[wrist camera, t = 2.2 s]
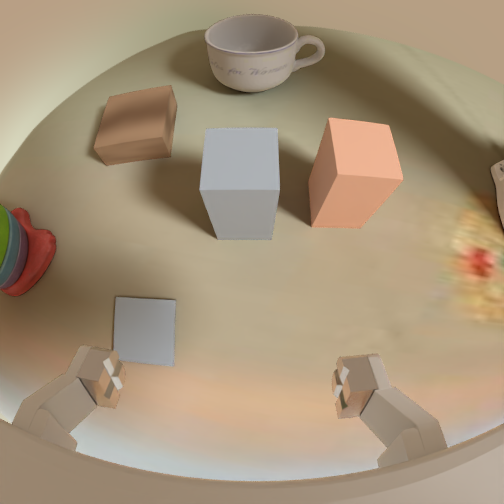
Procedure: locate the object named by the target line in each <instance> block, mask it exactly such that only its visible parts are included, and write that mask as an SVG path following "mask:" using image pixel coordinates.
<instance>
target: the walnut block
mask: <svg viewBox="0 0 504 504" xmlns="http://www.w3.org/2000/svg"><path fill="white" fill-rule="evenodd" d="M176 111H177V103H176V100H175V96H174V93H173V90H172V86H171V85H169V86H162V87H156V88H150V89H145V90H139V91H134V92H129V93H124V94H120V95H115V96H111V97H109V99H108V102H107V105H106V108H105V111H104V114H103V117H102V120H101V123H100V127H99V130H98V133H97V137H96V140H95V144H94V148H93V149H94V150H95V151H96V153H97V154H98V155H99V156H100V158H101V159H102V160H103V162H104V163H105V164H106V165H107V166H108V165H115V164H121V163H127V162H134V161H142V160H149V159H157V158H166V157H171V150H172V142H173V133H174V126H175V118H176Z"/></svg>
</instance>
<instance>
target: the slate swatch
mask: <svg viewBox="0 0 504 504" xmlns="http://www.w3.org/2000/svg"><path fill="white" fill-rule="evenodd" d="M175 308H176V300H162V299H142V298H125V297H116V303H115V320H114V350H115V351H117V353H118V355H119V359H118V360H122V361H129V362H137V363H145V364H154V365H164V366H174V341H175Z"/></svg>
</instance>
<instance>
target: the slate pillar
mask: <svg viewBox="0 0 504 504" xmlns="http://www.w3.org/2000/svg"><path fill="white" fill-rule="evenodd" d="M199 190H200V193H201V196H202V198H203V201H204V204H205V207H206V209H207V212H208V215H209V217H210V220H211V223H212V225H213V228H214V231H215V233H216V236H217V239H218V240H272V234H273V229H274V223H275V217H276V211H277V205H278V199H279V193H280V176H279V152H278V131H277V128H211V129H206V133H205V142H204V150H203V159H202V169H201V179H200V189H199Z"/></svg>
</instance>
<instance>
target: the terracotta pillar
mask: <svg viewBox="0 0 504 504" xmlns="http://www.w3.org/2000/svg"><path fill="white" fill-rule="evenodd" d="M403 180H404V179H403V175H402V171H401V167H400V163H399V159H398V155H397V151H396V148H395V144H394V141H393V137H392V134H391V131H390V127H389V125H385V124H378V123H371V122H363V121H355V120H347V119H337V118H328V121H327V124H326V127H325V131H324V134H323V137H322V140H321V143H320V147H319V150H318V153H317V156H316V159H315V162H314V165H313V168H312V171H311V174H310V177H309V180H308V185H309V198H310V212H311V227H326V228H361V227H362V226H363V225H364V224H365V223H366V221H367V220H368V219H369V218H370V217H371V216H372V215H373V214H374V213H375V212H376V211H377V209H378V208H379V207H380V206H381V205H382V204H383V203H384V202H385V201H386V199H387V198H388V197H389V196H390V195H391V194H392V193H393V191H394V190H395V189H396V188H397V187H398V186H399V185H400V183H401V182H402V181H403Z"/></svg>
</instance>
